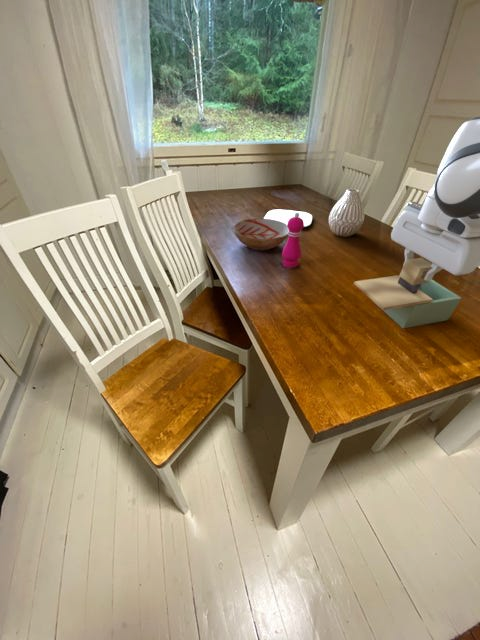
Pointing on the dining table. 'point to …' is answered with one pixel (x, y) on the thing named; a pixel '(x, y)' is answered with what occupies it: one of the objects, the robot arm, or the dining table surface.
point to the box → (426, 307)
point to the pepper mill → (293, 242)
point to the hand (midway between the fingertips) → (416, 273)
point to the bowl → (261, 233)
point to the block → (415, 270)
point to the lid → (392, 292)
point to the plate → (288, 216)
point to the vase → (347, 214)
